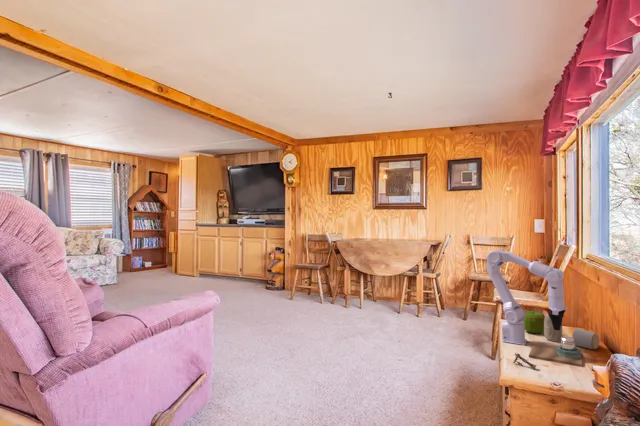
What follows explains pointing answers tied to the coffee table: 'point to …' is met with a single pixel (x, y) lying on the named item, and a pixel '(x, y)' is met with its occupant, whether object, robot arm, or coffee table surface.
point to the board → (557, 355)
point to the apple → (534, 322)
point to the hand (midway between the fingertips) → (557, 327)
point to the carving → (551, 330)
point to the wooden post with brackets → (523, 361)
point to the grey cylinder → (585, 339)
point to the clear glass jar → (567, 343)
